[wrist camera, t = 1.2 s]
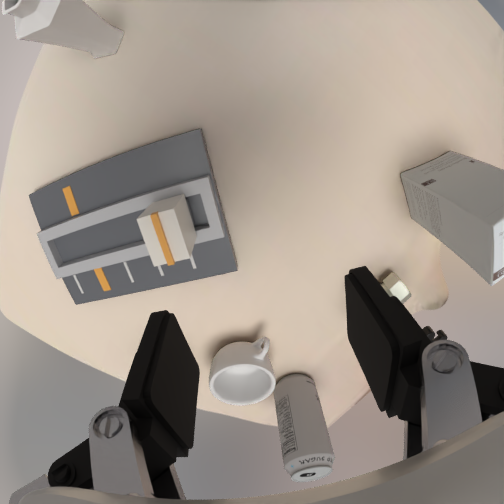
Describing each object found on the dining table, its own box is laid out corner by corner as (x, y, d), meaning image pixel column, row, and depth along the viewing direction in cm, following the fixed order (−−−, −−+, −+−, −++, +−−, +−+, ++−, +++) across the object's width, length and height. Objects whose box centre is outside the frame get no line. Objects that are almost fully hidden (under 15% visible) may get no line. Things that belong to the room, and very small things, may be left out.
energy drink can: (306, 397, 41) (325, 481, 27) (268, 396, 40) (279, 484, 27) (319, 371, 39) (346, 462, 25) (279, 369, 38) (295, 466, 24)
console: (35, 191, 26) (22, 198, 23) (201, 128, 25) (197, 129, 22) (80, 297, 32) (71, 310, 29) (237, 263, 31) (237, 276, 28)
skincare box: (449, 149, 26) (550, 182, 13) (459, 196, 29) (548, 245, 15) (395, 175, 28) (495, 223, 14) (408, 223, 30) (494, 291, 16)
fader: (155, 198, 26) (134, 219, 20) (186, 190, 25) (172, 209, 20) (168, 239, 27) (153, 269, 22) (198, 231, 27) (189, 260, 22)
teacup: (253, 380, 38) (255, 411, 34) (201, 363, 37) (198, 395, 32) (292, 332, 35) (300, 363, 30) (235, 310, 33) (236, 341, 28)
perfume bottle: (99, 71, 21) (-2, 47, 8) (80, 45, 20) (-18, 14, 6) (135, 40, 21) (54, -16, 7) (114, 15, 19) (32, -42, 5)
